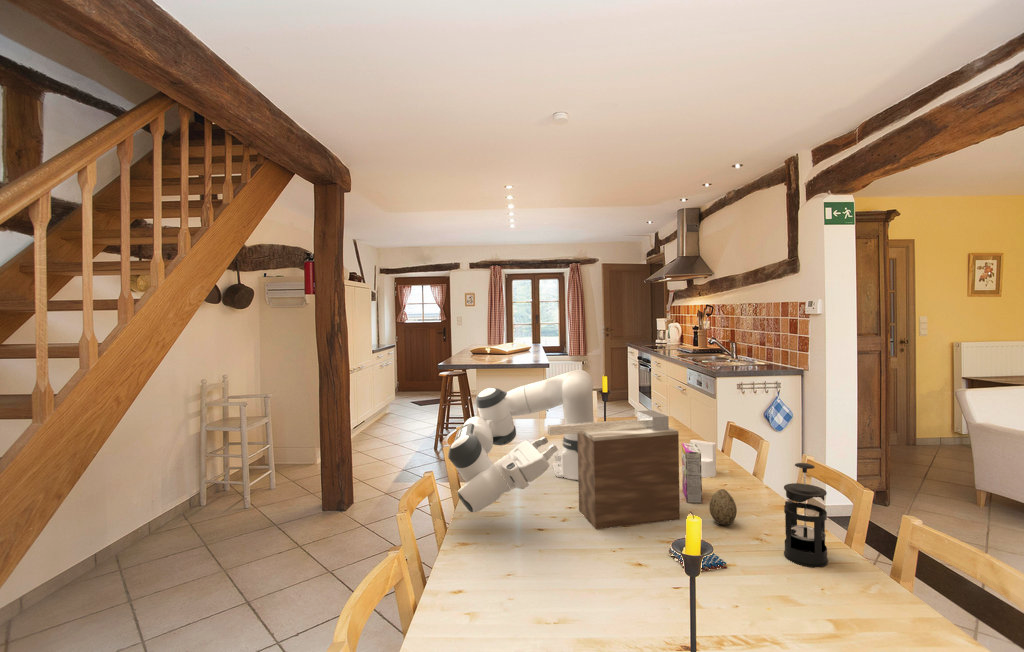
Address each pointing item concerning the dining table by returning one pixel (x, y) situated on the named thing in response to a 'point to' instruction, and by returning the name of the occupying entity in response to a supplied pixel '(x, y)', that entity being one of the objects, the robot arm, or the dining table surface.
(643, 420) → the bar
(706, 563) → the woven mat
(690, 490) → the candy bar box
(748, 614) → the dining table surface
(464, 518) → the dining table surface
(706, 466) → the base with upright slab
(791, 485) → the french press
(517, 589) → the dining table surface
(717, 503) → the decorative egg
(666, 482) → the dark wood block
